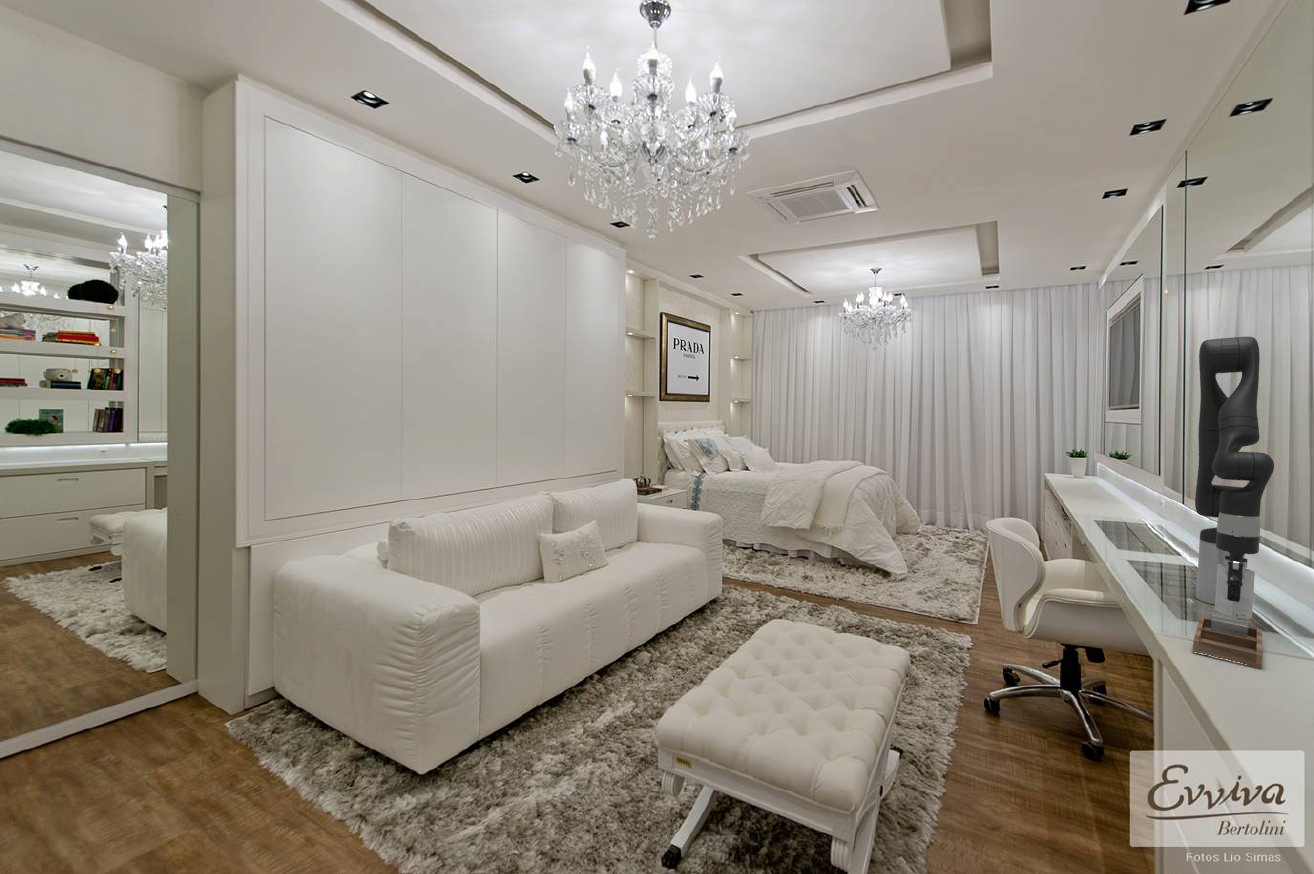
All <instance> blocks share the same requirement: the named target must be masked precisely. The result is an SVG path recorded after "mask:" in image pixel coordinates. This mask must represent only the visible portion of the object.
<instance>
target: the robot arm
mask: <svg viewBox="0 0 1314 874" xmlns="http://www.w3.org/2000/svg"><path fill="white" fill-rule="evenodd" d="M1260 358H1261V357H1260V347H1259V343H1258V341H1257V339H1256V338H1255V337H1253V336H1234V337H1223V338H1211V339H1210V338H1209V339H1205V340H1203V342H1202V343H1200V347H1199V351H1198V365H1199V366H1198V367H1199V383H1200V384H1199V386H1200V389H1199V390H1200V403H1199V404H1200V405H1199V417H1198V418H1199V419H1198V421H1199V422H1198V466H1197V467H1198V469H1197V477H1196V478H1197V479H1196V488H1195V495H1194V496H1195V497H1194V507H1195V511H1196V513H1197V514H1198V515H1199V516H1202V517H1209V518H1217V522H1216V523H1217V524H1216V527H1210V528H1204V529H1201V531H1200V533H1199V545H1198V559H1197V560H1198V562H1197V563H1198V564H1197V577H1196V578H1197V579H1196V591H1195V598H1196V600H1198V601H1200V602H1204V603H1206V604H1209V605H1214V606H1215V597H1216V582H1217V566H1218V564H1225V565H1226V571H1225V575H1226V576H1227V577H1228V581H1227V585H1228V593H1227V599H1228V600H1229V601H1235V602H1239V601H1240V592H1241V587H1242V585H1243V583H1242V579H1244V578H1245V569H1248V558H1245V557H1246V556H1245V555H1256V554H1258V553H1259V552H1260V538H1261V519H1260V517H1261V515H1260V514H1261V505H1262V504H1261V503H1262V502H1261V501H1262V497H1263V494H1264V492H1265V489H1266V487H1267V485H1268V483H1269V481H1270V479H1271V477H1272V476H1273V473H1274V470H1275V461H1274V460H1273V458H1272V457H1271V456H1270V455H1269V454H1267V453H1264V452H1256V451H1255V452H1254V451H1241V449H1242V448H1243V447H1250V446H1253V445H1255V444H1257V443H1258V442H1260V441H1259V440H1260V430H1259V429H1260V427H1259V419H1258V395H1259V394H1258V393H1259V384H1260V382H1259V381H1260V380H1259V379H1260ZM1230 373H1231V374H1232V373H1241V379H1240V381H1239V383H1238V384H1237V386H1236V388H1235V389H1234V391H1233V392H1231V394H1230V396H1229V397H1228V396H1227V395H1226V394H1225V392H1224V391H1223V389H1222V387H1221V386H1220V385H1219V383H1218V380H1217V374H1230ZM1215 477H1217V478H1219V479H1221V480H1226V481H1227V480H1228V481H1229V480H1230V481H1248V483H1247V484H1246V485H1245V486H1243V487H1242V486H1231V485H1221V484H1220V485H1219V484H1218V485H1217V484H1213V481H1214V478H1215ZM1236 570H1237V571H1236ZM1231 577H1238V578H1239V581H1235V580H1230V579H1231Z"/></svg>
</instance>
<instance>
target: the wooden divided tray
mask: <svg viewBox="0 0 1314 874" xmlns="http://www.w3.org/2000/svg"><path fill="white" fill-rule="evenodd" d="M1193 652H1197V653H1203V654H1207V655H1211V656H1214V657H1218V658H1223V659H1228V660H1231V661H1235V662H1240V663H1243V664H1247V665H1249V666H1248V667H1250V666H1252V667H1251V668H1254V669H1258V670H1262V665H1263V629H1261V628H1256V627H1252V626H1249V621H1247V620H1244V619H1243V620H1242V619H1238V618H1232V617H1227V616H1221V615H1216V614H1212V616H1211V618H1206V617H1205V618H1204V617H1201V616H1200V617H1199V620H1198V624H1197V626H1196V630H1195V634H1194V637H1193V645H1192V653H1193Z"/></svg>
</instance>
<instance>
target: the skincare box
mask: <svg viewBox="0 0 1314 874" xmlns="http://www.w3.org/2000/svg"><path fill="white" fill-rule="evenodd" d="M1225 571H1226V565H1225V564H1218V566H1217V582H1216V597H1215V605H1214V610H1216V612H1217V611H1218V612H1220V613H1221V614H1223V615H1225V616H1228V617H1229V618H1232V619H1243V620H1245V619H1246V620H1252V618H1253V605H1254V589H1255V573H1256V572H1255V571H1254V570H1251V569H1248V568H1246V569H1245V578H1244V579H1242V583H1243V585H1242V587H1241V592H1240V601H1239V602H1235V601H1229V600H1228V599H1227V593H1228V585H1227V581H1228V577H1227V576H1226V575H1225ZM1236 571H1237V570H1236ZM1230 580H1235V581H1239V578H1238V577H1231V579H1230Z"/></svg>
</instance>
